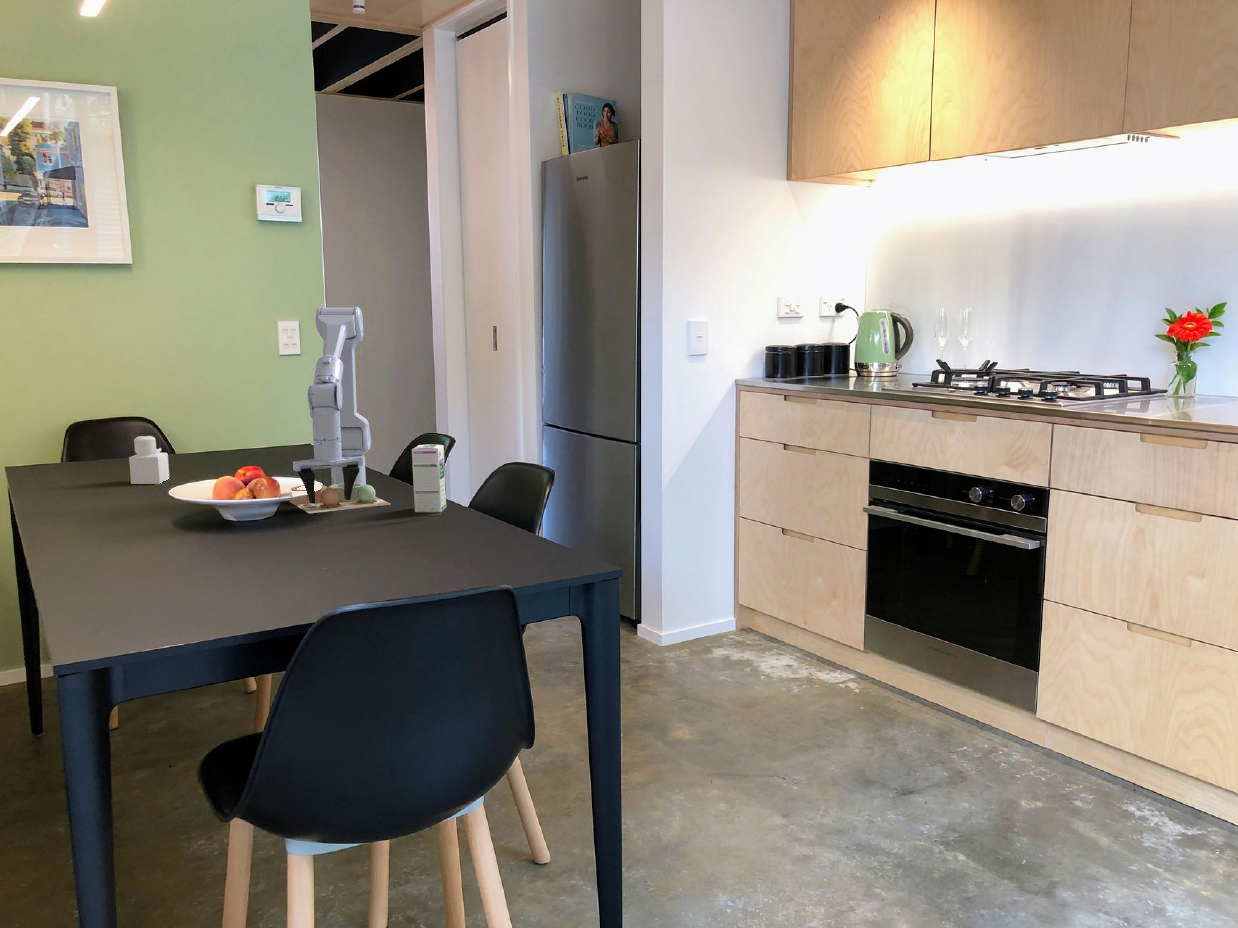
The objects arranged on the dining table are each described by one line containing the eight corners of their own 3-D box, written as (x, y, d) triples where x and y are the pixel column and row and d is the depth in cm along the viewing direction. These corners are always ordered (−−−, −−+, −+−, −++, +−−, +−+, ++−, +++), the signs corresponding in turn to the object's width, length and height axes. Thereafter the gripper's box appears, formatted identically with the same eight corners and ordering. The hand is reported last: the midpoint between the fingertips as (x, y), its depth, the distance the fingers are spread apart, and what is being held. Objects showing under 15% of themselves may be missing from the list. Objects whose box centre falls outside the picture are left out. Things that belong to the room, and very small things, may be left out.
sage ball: (354, 501, 216) (354, 484, 215) (372, 500, 218) (371, 482, 217) (360, 504, 212) (359, 486, 212) (378, 502, 214) (377, 485, 214)
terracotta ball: (318, 505, 211) (317, 487, 211) (336, 503, 213) (336, 486, 213) (323, 508, 208) (322, 490, 207) (342, 506, 210) (341, 488, 210)
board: (287, 503, 218) (286, 498, 218) (365, 495, 228) (365, 490, 228) (309, 516, 203) (308, 511, 203) (391, 507, 213) (391, 502, 213)
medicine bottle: (141, 480, 250) (137, 434, 248) (170, 479, 251) (166, 433, 249) (130, 485, 243) (126, 437, 241) (160, 484, 244) (156, 437, 242)
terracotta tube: (289, 499, 218) (288, 486, 218) (321, 496, 222) (320, 483, 222) (297, 505, 212) (296, 491, 212) (330, 501, 216) (329, 488, 216)
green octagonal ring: (327, 497, 221) (326, 484, 220) (358, 494, 225) (357, 481, 224) (336, 502, 215) (336, 489, 214) (368, 499, 219) (368, 486, 218)
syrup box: (441, 515, 205) (439, 447, 202) (413, 515, 205) (411, 447, 202) (446, 510, 210) (444, 444, 208) (419, 510, 210) (417, 444, 208)
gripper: (297, 443, 201) (301, 507, 203) (366, 438, 209) (368, 500, 211) (289, 439, 207) (292, 502, 209) (356, 435, 215) (358, 495, 217)
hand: (330, 501), depth 211 cm, fingers open, 7 cm apart
